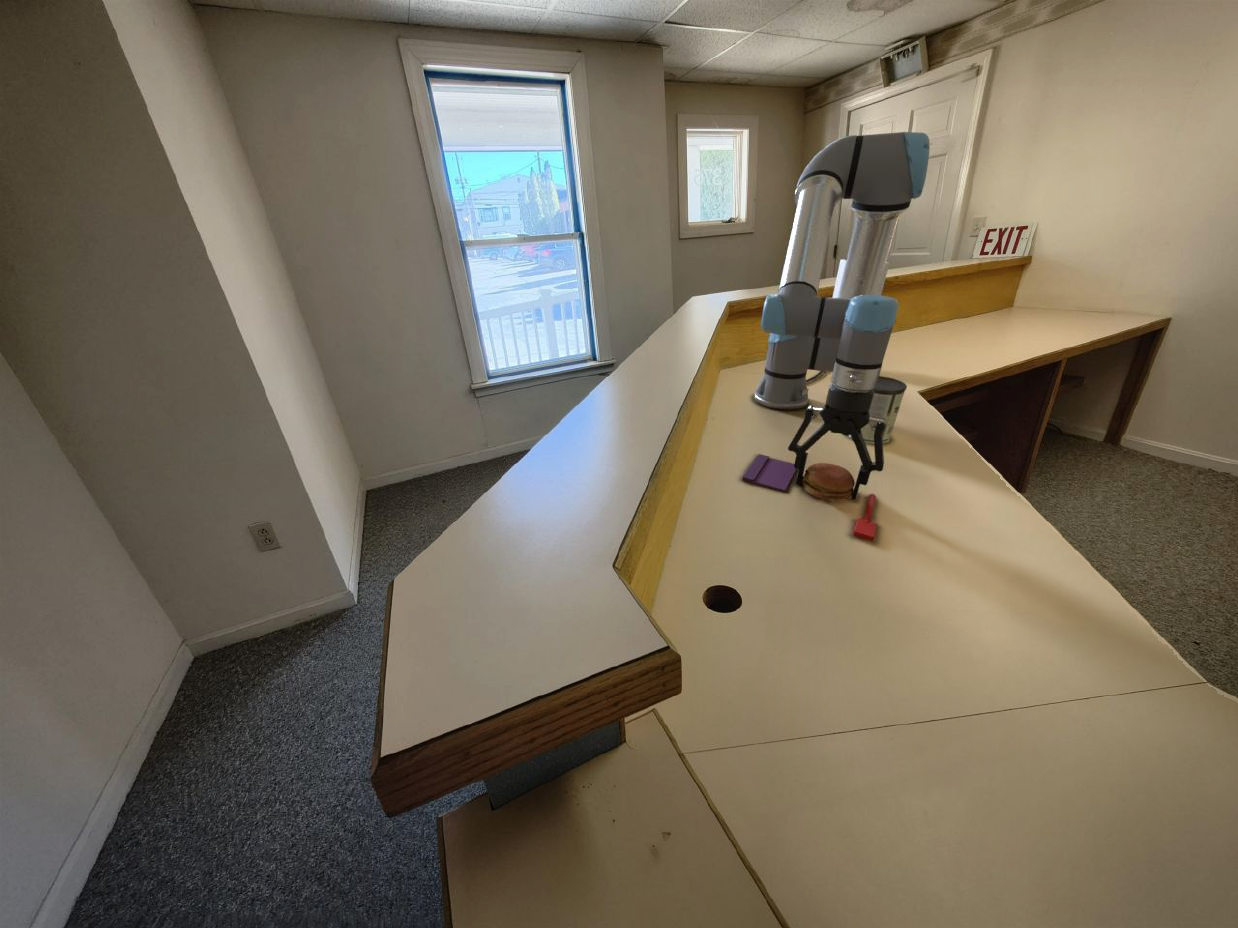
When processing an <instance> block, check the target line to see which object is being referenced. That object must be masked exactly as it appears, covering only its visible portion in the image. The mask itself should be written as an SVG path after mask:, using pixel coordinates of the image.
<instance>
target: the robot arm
mask: <svg viewBox="0 0 1238 928" xmlns="http://www.w3.org/2000/svg"><path fill="white" fill-rule="evenodd" d="M930 146H931V143H930V137H929V136H928V134H926V133H925V132H917V131H915V132H914V131H899V132H887V133H873V134H861V135H857V134H854V135H847V136H843V137H840V138H838V139H836V140H834V141H832V142H830V143H829V144H827V145H826V146H825V147H824V148H822V149H821V150H820V151H819V152H817V154H816V155H815V156H814V157H813V158H812V159H811V160H810V161H809V163H808V164H807V165H806V167H805V168H804V170H803V171H802V173H801V175H800V177H799V178H798V181H797V184H796V188H795V191H794V204H795V206H796V210H795V213H794V219H793V223H792V228H791V233H790V237H789V238H790V239H789V242H788V246H787V251H786V255H785V260H784V264H783V268H782V273H781V278H780V281H779V282H780V283H779V286H778V291H777V293H775V294H773V293H772V294H768V295H767V296H766V298H765V300H764V303H763V308H762V316H761V324H760V325H761V330H762V331H763V332H764V333H766V334H769V338H768V341H767V342H768V347H767V353H766V358H765V365H764V372H763V375H762V377H761V379H760V380H759V383H758V385H757V386H756V389H755V391H754V396H753V399H754V401H755V402H756V403H757V404H759V405H761V406H763V407H766V408H769V409H774V410H779V411H780V410H783V411H793V410H795V411H796V410H799V409H803V408H805V407H806V406H807V405H808V401H809V389H810V388H808V385H807V383H809V382H811V381H813V380H815V379H816V378H818V377H819V376H820V375H821V374H823V372H828V373H832V374H831V379H830V382H831V384H830V385H829V386H828V387H829V388H828V391H827V394H826V399H825V404H824V406H823V407H822V408H821V407H815V406H814V405H812V404H810V405H808V406H807V407H806V410H805V413H804V419H803V421H802V423H801V424H800V426H799V428H798V430H797V432H796V433H795V435H794V437H793V438H792V440H791V442H790V443H789V445H788V447H787V450H788V451H789V452H793V453H794V454H795V459H794V463H793V464H794V468H796V469H797V470H798V472H797V476H796V481H795V485H797V486H800V485H801V483H802V482H803V480H802V477H803V476H804V474H805V468H806V464H807V461H808V460H807V459H808V455H809V452H808V451H809V450H810V449H811V448H812V447H813V446H814V445H815V444H816V443H818V441H820V439H821V438H822V437H823V436H825V435H826V434H827V433H829V432H830V433H832V434H841V435H843V436H846V437H849V435H851V437H852V438H851V440H852V441H853V443H854V447H855V449H856V450H857V454H858V457H859V459H860V462H861V464H860V467H859V471H858V474H857V477H856V479H855V485H854V487H853V494H852V496H851V498H850V499H851V500H853V501H856V498H857V495H858V492H859V489H860V486H867V485H868V483H869V479H870V476H871V473H872V472H876V471H877V472H882V471H883V470H884V466H885V453H884V444H883V433H882V432H883V429H884V426H885V422H886V420H885V419H884V418H880V419H875V418H871V417H870V415H869V410H870V406H871V403H872V399H873V396H874V391H873V389H874V388H875V387H876V385H877V382H878V378H879V376H881V371H882V367H883V362H884V360H885V359H884V358H885V356H886V352H887V349H888V346H889V343H890V339H891V337H892V336H891V335H892V332H893V329H894V326H895V325H896V323H897V314H898V310H899V301H898V300H897V299H896V298H895V297H891V296H887V295H881V296H880V295H877V291H878V288H879V284H880V281H881V277H882V274H883V270H884V267H885V263H886V262H887V259H888V257H889V256H888V255H889V252H890V249H891V245H892V242H893V238H894V235H895V231H896V227H897V223H898V221H899V217H900V216H901V215H902V214H904V213H905V212H906V211H908V210H909V209H910V205H911V202H912V199H913V200H916V199H918V198H920V197H921V196H922V194H923V190H924V187H925V185H926V178H927V172H928V166H929V158H930V150H931V149H930ZM842 199H843V200H852V201H851V206H850V209H851V210H852V212H853V213H854V214H855V222H854V225H853V230H852V234H851V239H850V243H849V247H848V252H847V256H846V259H845V260H846V264H845V269H844V273H843V277H842V282H841V286H840V291H839V295H838V298H832V297H827V296H818V293H819V288H820V283H821V278H822V272H823V268H824V267H823V266H824V262H825V258H826V257H825V256H826V252H827V247H828V242H829V237H830V231H831V226H832V221H833V216H834V212H835V208H836V206H838V204H839V203H840V201H841V200H842ZM808 370H810V371H819V372H818V373H817V374H815V375H814V376H812V377H810V378H807V373H808ZM818 416H820V417H821V419H822V420H823V423H822V425H820V427H819V428H818V429H816V431H815V432H814V433H812V434H811V435H810V436H809V437H808V438H807V439H806V440H805V441H804V442H803V443H802V444H801V445H799V442H800V440H801V439H802V437H803V435H804V434H805V432H806V430H807V428H808V427H809V426H810V424H811V422H812V420H815V419H817V417H818ZM867 424H869V425H870V426H871V430H873V431H875V432H874V444H873V447H874V448H873V449H874V461H872V458H871V455H870V452H869V449H868V447H867V443H865V441H864V439H863V436H862V431H861V428H863V427H864V426H866V425H867Z"/></svg>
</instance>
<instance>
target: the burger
mask: <svg viewBox="0 0 1238 928" xmlns="http://www.w3.org/2000/svg"><path fill="white" fill-rule="evenodd" d="M802 483H803V486H802V487H803V489H804V491H805V492H806V493H807V494H808V495H810V496H812V497H814V498H816V499H819V500H826V501H829V500H835V501H844V500H850V499H851V498H852V494H853V491H854V487H855V484H856V480H855V477H854V476H853V474H852V473H851V471H849V470H848V469H847V468H845V467H843V466H842V465H838V464H834V463H828V462H816V463H813V464H810V465H809V466H808V467H807V468H806V470H804V473H803V477H802Z"/></svg>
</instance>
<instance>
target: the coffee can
mask: <svg viewBox="0 0 1238 928" xmlns="http://www.w3.org/2000/svg"><path fill="white" fill-rule="evenodd" d="M907 388H908V386H907V383H905V382H903V381H901V380H899V379H896V378H893V377H888V376H881V375H879V378H878V382H877V385H876V387H875V388H874V389H873V391H874V396H873V399H872V403H871V406H870V410H869V415H870V417H871V418H875V419H880V418H884V419H885V420H886V422H885V426H884V429H883V432H882V433H883V445H884V444H886V443H888V442H889V441H890V439H891V435H892V432H893V429H894V426H895V423H896V420H897V416H898V414H899V410H900V407H901V404H902V401H903V398H904V394H905V391H906V390H907ZM861 431H862V436H863V439H864V441H865V444H868V445H869V444H870V445H874V432H875V431H873V430H871V426H870V425H869V424H867V425H866V426H864V427H863V428H861ZM848 437H849V438H850V439H852V437H851V435H849V436H848Z"/></svg>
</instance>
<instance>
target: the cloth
mask: <svg viewBox="0 0 1238 928" xmlns="http://www.w3.org/2000/svg"><path fill="white" fill-rule="evenodd" d="M797 470H798V469H796V468H794V463H791V462H787V461H783V460H778V459H776V458H775V459H774V458H770V456H769V455H764V454H761V453H758V455H756V457H755V459H754V461H752V463H751V464H750V466H749V468H748V469H747V470H746V472H745V473H744V474H743V476H742V481H744V482H746V483H747V482H748V483H750V484H751V483H752V484H755V485H758V486H763V487H766V488H769V489H773V490H777V491H779V492H784V493H785V492H786V491H787V489H788V487H789V485H790V483H791V481H792V479H793V477H794V475H795V473H796V472H797Z"/></svg>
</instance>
